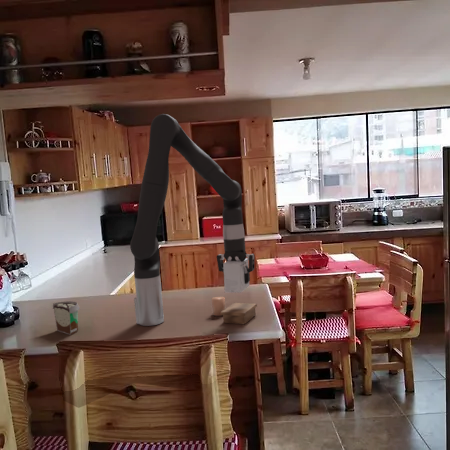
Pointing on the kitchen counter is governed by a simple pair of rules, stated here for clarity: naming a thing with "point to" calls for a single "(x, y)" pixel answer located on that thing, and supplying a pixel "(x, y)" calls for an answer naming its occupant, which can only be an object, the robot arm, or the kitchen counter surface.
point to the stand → (239, 313)
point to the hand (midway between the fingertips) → (237, 282)
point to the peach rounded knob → (218, 305)
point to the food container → (66, 316)
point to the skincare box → (234, 276)
